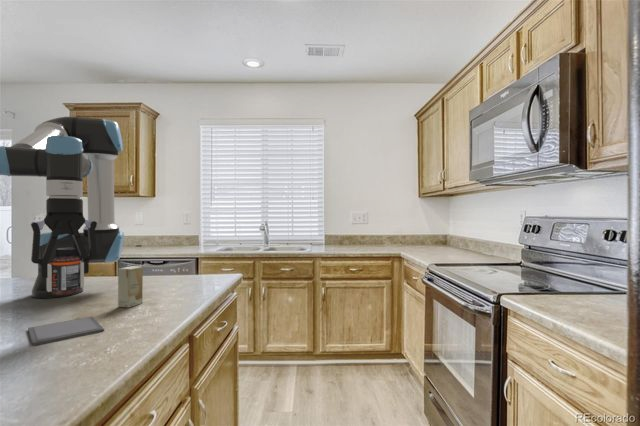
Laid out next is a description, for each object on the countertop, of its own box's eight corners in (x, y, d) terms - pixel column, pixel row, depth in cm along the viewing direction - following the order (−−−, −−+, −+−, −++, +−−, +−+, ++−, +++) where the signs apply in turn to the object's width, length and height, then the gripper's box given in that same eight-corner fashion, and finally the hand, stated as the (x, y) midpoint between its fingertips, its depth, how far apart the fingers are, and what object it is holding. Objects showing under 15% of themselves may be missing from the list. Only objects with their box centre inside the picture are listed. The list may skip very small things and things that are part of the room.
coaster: (28, 330, 89) (28, 327, 89) (92, 318, 99) (92, 316, 99) (32, 345, 79) (32, 342, 79) (103, 331, 89) (103, 328, 89)
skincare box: (129, 308, 109) (129, 269, 109) (117, 307, 110) (117, 268, 110) (143, 302, 116) (143, 266, 116) (132, 302, 117) (132, 265, 117)
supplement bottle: (47, 293, 88) (47, 248, 88) (74, 289, 93) (74, 246, 93) (56, 296, 85) (56, 250, 85) (83, 292, 90) (84, 248, 90)
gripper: (16, 196, 80) (17, 297, 80) (111, 198, 93) (111, 285, 93) (14, 197, 85) (15, 291, 85) (104, 198, 98) (104, 281, 98)
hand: (65, 288), depth 89 cm, fingers closed on supplement bottle, 6 cm apart
